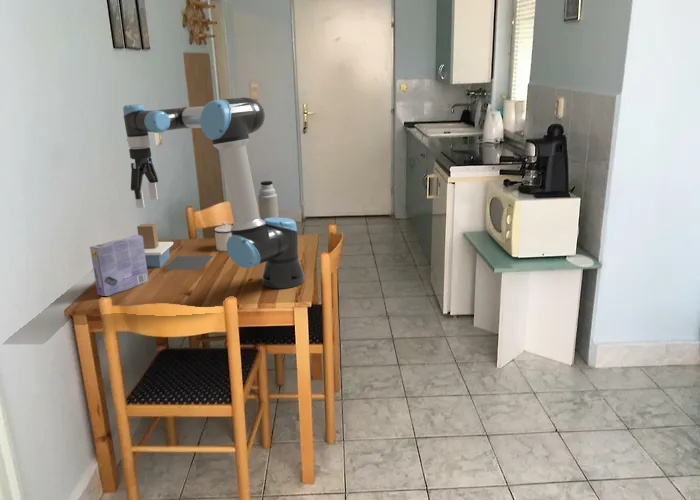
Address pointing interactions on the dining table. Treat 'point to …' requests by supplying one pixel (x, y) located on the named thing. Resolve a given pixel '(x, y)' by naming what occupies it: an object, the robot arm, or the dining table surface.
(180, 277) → the dining table surface
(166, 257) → the blue open box
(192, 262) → the mat
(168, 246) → the lid
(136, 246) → the cake pan box
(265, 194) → the thermos bottle
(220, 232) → the teacup with lid
